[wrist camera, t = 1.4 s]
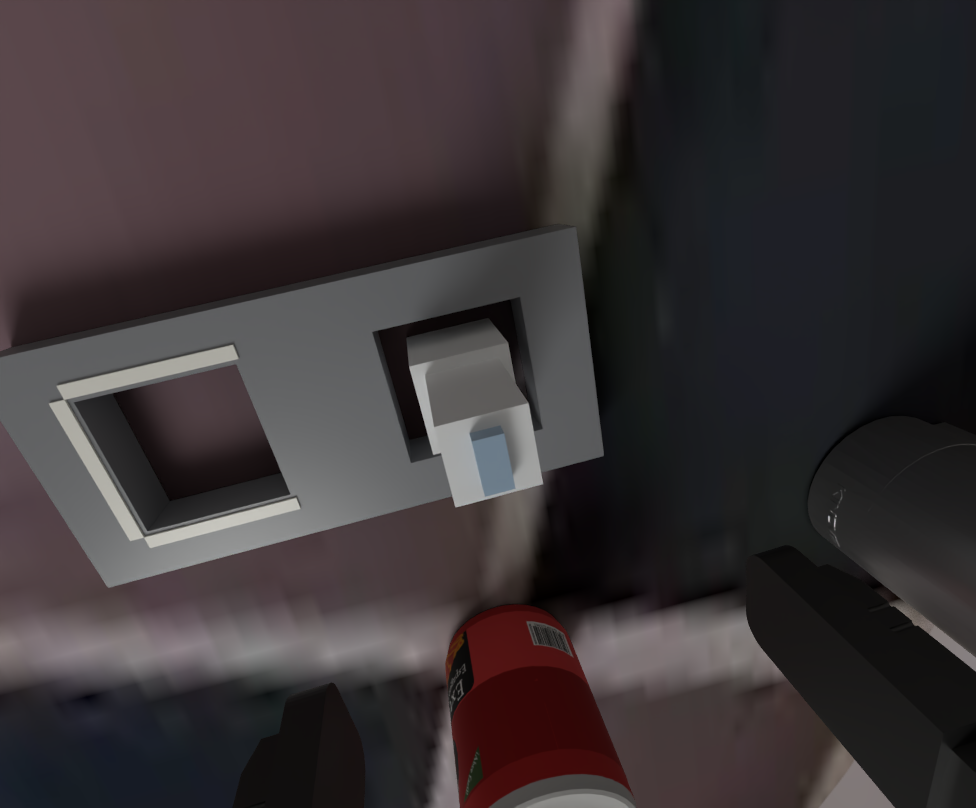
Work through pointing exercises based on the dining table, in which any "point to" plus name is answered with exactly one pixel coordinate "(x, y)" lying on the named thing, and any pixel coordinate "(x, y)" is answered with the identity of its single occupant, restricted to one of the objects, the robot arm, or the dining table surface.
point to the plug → (474, 410)
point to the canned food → (527, 717)
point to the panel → (293, 400)
